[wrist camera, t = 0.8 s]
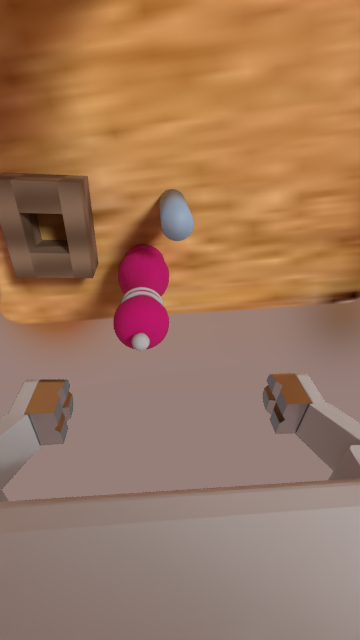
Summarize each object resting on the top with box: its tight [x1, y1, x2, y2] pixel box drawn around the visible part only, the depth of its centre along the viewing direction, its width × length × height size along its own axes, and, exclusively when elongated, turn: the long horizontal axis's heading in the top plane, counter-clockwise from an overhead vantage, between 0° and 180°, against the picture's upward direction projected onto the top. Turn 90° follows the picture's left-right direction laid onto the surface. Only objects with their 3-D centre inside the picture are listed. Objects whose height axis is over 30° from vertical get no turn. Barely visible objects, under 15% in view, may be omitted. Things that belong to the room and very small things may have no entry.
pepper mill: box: [114, 245, 169, 351], centre depth 36 cm, size 7×7×20 cm
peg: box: [159, 189, 194, 241], centre depth 35 cm, size 4×4×10 cm
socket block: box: [0, 173, 98, 278], centre depth 37 cm, size 12×10×5 cm
